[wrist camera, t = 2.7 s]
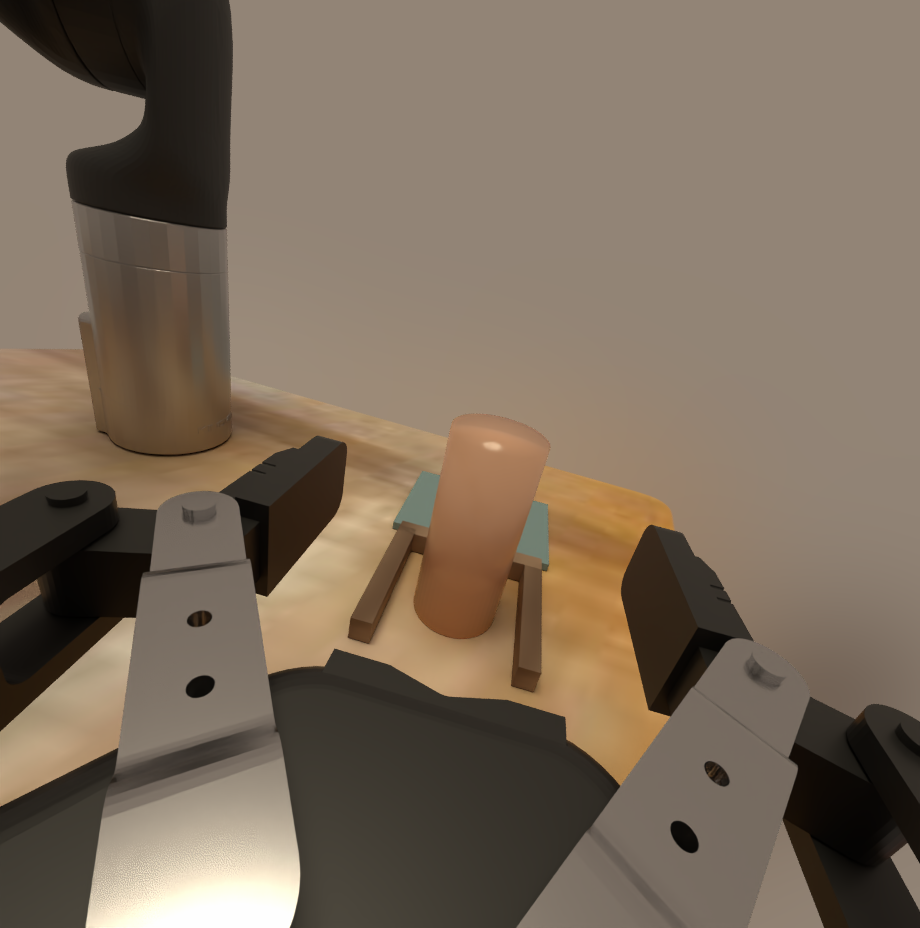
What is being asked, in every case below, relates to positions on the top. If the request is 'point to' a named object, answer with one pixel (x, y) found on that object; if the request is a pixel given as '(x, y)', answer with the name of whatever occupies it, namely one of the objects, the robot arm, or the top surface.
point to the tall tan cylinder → (477, 521)
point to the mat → (421, 510)
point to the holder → (521, 570)
